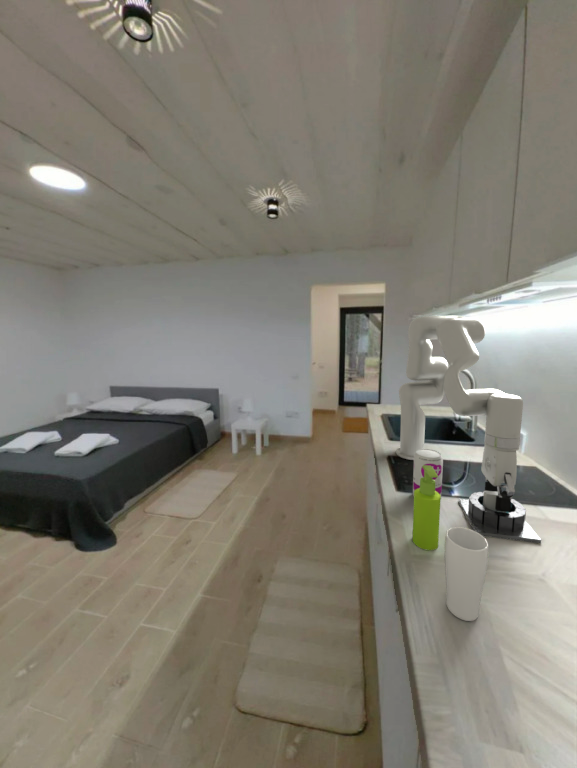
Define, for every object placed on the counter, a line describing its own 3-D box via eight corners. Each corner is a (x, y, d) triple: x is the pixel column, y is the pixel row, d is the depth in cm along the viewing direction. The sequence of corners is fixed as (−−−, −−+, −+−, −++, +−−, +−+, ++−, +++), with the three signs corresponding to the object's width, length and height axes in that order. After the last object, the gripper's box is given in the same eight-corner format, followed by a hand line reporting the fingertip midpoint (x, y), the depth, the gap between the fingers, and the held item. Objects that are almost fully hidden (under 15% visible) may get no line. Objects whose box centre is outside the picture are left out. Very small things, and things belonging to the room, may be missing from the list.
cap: (475, 507, 87) (476, 485, 86) (503, 511, 85) (505, 488, 84) (483, 522, 80) (485, 498, 79) (513, 526, 78) (516, 501, 77)
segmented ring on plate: (458, 501, 92) (459, 486, 91) (511, 507, 88) (512, 491, 88) (476, 535, 77) (477, 517, 76) (540, 543, 73) (542, 524, 72)
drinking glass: (448, 624, 54) (453, 549, 51) (437, 592, 60) (440, 524, 58) (490, 629, 53) (496, 553, 50) (473, 596, 59) (478, 527, 57)
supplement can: (444, 506, 90) (446, 459, 88) (415, 503, 92) (417, 457, 90) (436, 492, 98) (438, 448, 96) (410, 490, 100) (411, 447, 97)
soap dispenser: (417, 552, 71) (420, 474, 68) (409, 533, 78) (412, 461, 75) (443, 554, 71) (447, 475, 68) (433, 535, 77) (437, 462, 74)
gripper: (474, 429, 88) (470, 486, 91) (498, 452, 72) (493, 520, 74) (503, 431, 86) (499, 488, 89) (535, 454, 70) (528, 523, 73)
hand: (496, 502), depth 82 cm, fingers open, 7 cm apart
